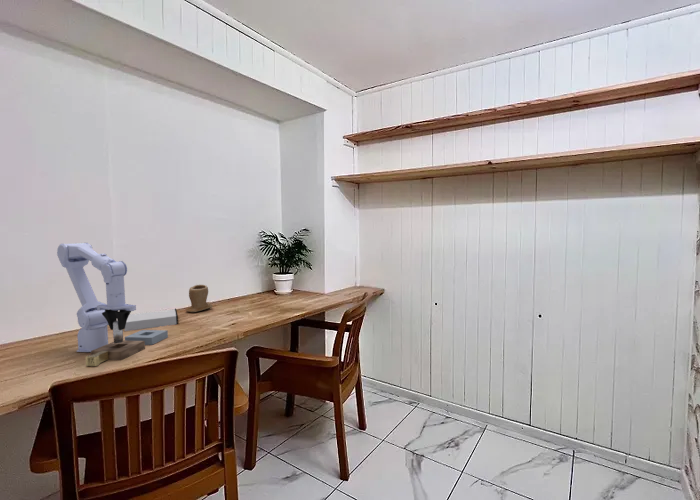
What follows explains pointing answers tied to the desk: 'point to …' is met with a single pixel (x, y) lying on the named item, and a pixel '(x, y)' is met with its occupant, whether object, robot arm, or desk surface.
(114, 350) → the socket block
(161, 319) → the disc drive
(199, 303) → the stone cup
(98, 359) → the key
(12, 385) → the desk surface
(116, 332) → the grey peg
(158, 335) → the block
